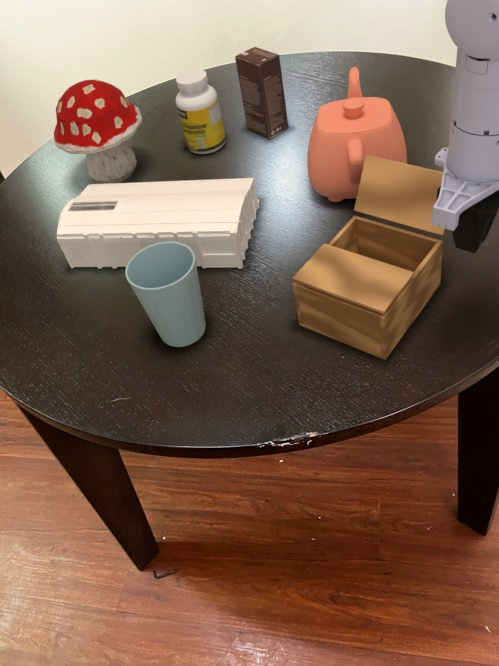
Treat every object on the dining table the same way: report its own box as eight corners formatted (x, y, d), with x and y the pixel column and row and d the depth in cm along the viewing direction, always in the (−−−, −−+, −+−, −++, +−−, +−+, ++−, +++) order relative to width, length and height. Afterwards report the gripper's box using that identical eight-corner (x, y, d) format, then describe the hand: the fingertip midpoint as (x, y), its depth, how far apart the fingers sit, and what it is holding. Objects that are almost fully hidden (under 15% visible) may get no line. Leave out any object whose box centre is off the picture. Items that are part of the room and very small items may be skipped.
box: (290, 127, 104) (280, 53, 95) (269, 140, 102) (257, 66, 94) (266, 116, 108) (254, 44, 99) (245, 128, 106) (232, 56, 97)
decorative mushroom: (65, 205, 100) (24, 116, 89) (81, 156, 109) (45, 70, 98) (153, 192, 98) (122, 99, 87) (161, 143, 107) (134, 54, 97)
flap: (353, 210, 75) (355, 210, 75) (442, 235, 69) (443, 235, 70) (365, 154, 72) (367, 154, 73) (458, 176, 67) (460, 175, 67)
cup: (139, 331, 78) (111, 267, 70) (190, 298, 80) (168, 231, 73) (174, 365, 73) (149, 299, 66) (227, 328, 76) (208, 260, 68)
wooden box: (357, 257, 80) (354, 209, 75) (440, 284, 75) (443, 234, 69) (299, 325, 74) (291, 278, 69) (385, 360, 68) (384, 312, 63)
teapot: (402, 136, 97) (402, 56, 88) (411, 219, 83) (412, 135, 75) (312, 145, 99) (304, 68, 91) (307, 227, 86) (296, 146, 77)
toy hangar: (265, 199, 92) (257, 156, 87) (246, 269, 82) (236, 225, 77) (103, 204, 98) (87, 165, 93) (68, 270, 88) (48, 229, 83)
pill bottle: (180, 147, 105) (161, 79, 97) (211, 130, 108) (195, 61, 99) (203, 160, 102) (185, 91, 93) (235, 142, 104) (220, 72, 95)
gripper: (477, 68, 59) (463, 191, 69) (400, 152, 52) (397, 275, 62) (557, 81, 55) (530, 209, 65) (486, 173, 48) (468, 300, 58)
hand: (470, 243), depth 63 cm, fingers closed
